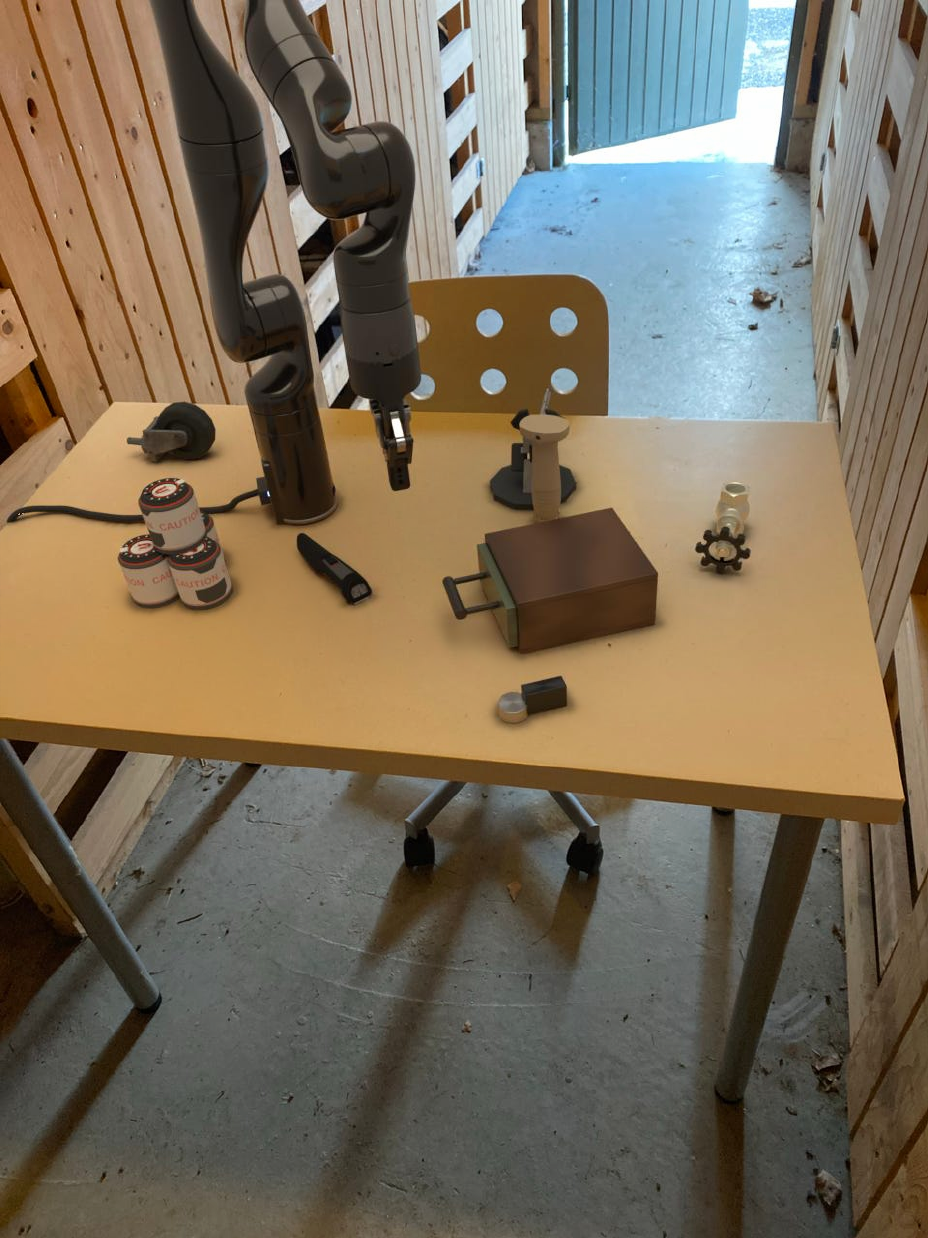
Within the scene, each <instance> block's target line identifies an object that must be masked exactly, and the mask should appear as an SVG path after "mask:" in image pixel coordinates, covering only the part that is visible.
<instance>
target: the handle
mask: <svg viewBox="0 0 928 1238" xmlns="http://www.w3.org/2000/svg"><path fill="white" fill-rule="evenodd" d="M564 418H565V417H563V418H561V417H558V416H553V415H545V414H540V413H539V414H529V416H527V417H525V418H523V419H522V420H521V421H520V424H519V425H520V430H519V433H520V436H522V438H523V437H525V438H527V439H528V440H530V441H532V480H531V490H532V502H533V508H534V510H533V511H534V514H533V515H534V520H535V523H539V522H544V521H549V520H554V519H559V518H560V509H561V504H560V501H561V480H560V469H559V465H560V459H559V457H560V456H559V442H561V441H563V440H564V439H566V438H567V437H568V436H569V434H570V428H571V427H570V425H571V424H570V421H569V420H568V419H566V418H565V419H564Z"/></svg>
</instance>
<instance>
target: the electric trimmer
mask: <svg viewBox="0 0 928 1238" xmlns="http://www.w3.org/2000/svg"><path fill="white" fill-rule="evenodd" d="M296 549H297V550H298V552H299V553H300V555H301V556H302V557H303V558H304V560H305V561H306V562H307V564H308V565H309V566H310V568H311V569H312V570H313V571H314V572H315V573H316V574H322V575H323V574H324V575H325V577H326V578H328V579H329V580H330V581H331V582H332V583H333V584H334V585H335V586H336V587H338V588H339V590H340V591H341V595H342V597H343V599H344V600H345V601H346V603H349V604H353V605H357V604H360V603H362V601H365V600H368V599H370V596H372V594H373V590H372V587H371V586H370V584H369V582H368V580H367V579H366V578H365V577H364V576H363V575H361V574H360V573H359V572H358V571H357V570H356V569H355V568H353V567H352V566H351V565H349V564H347V562H345V561H344V560H342V559H341V558H340V557H338V556H337V555H335V554H333V553H332V552H330V551H329V550H327V549H326V548H325V547H324V546H322V544H320V543H318V542H317V541H316V540H315V539H313V538H312V537H310V536H309V535H308V534H306V533H304V532H299V533H298V534H297V535H296Z"/></svg>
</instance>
